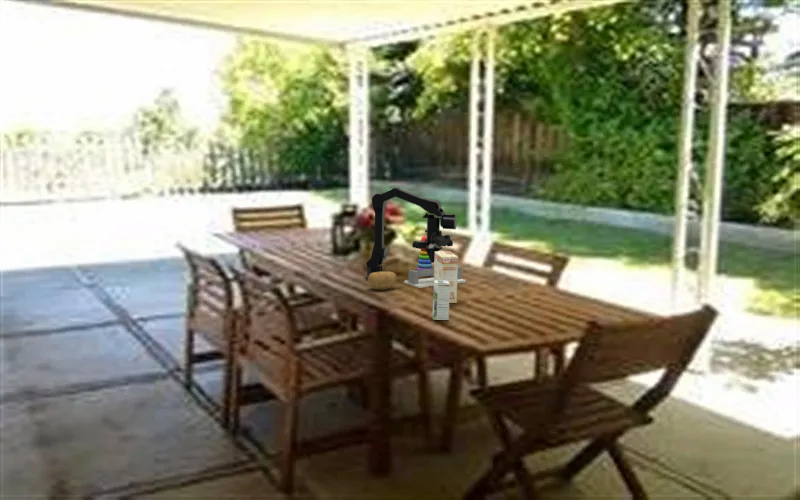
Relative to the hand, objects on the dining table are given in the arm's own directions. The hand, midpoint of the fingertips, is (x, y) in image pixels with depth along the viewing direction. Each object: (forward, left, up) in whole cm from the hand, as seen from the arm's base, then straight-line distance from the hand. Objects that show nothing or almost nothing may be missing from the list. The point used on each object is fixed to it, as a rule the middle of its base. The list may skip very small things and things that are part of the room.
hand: (432, 262), depth 404 cm
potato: (-27, -1, -10) cm, 29 cm away
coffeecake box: (-16, -32, -10) cm, 37 cm away
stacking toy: (+8, +17, -10) cm, 21 cm away
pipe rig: (+2, 0, -10) cm, 10 cm away
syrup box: (-37, -58, -10) cm, 70 cm away
